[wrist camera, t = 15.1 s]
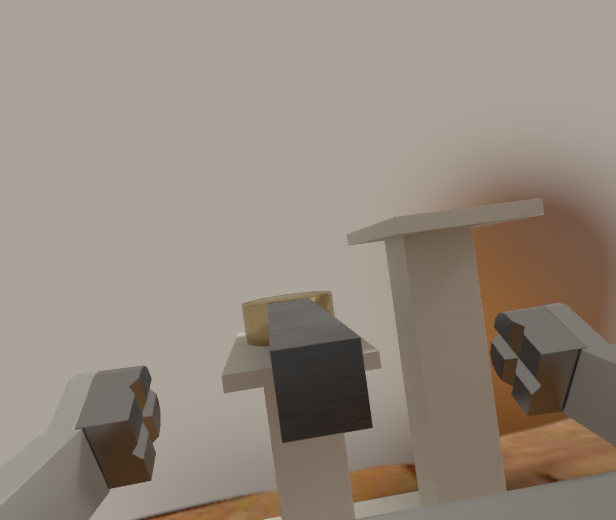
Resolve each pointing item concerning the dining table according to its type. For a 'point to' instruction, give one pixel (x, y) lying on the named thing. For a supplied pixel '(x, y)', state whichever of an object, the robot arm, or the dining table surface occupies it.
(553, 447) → the dining table surface
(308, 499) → the rack
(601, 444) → the dining table surface
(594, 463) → the dining table surface
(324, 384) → the grey and gold bar
